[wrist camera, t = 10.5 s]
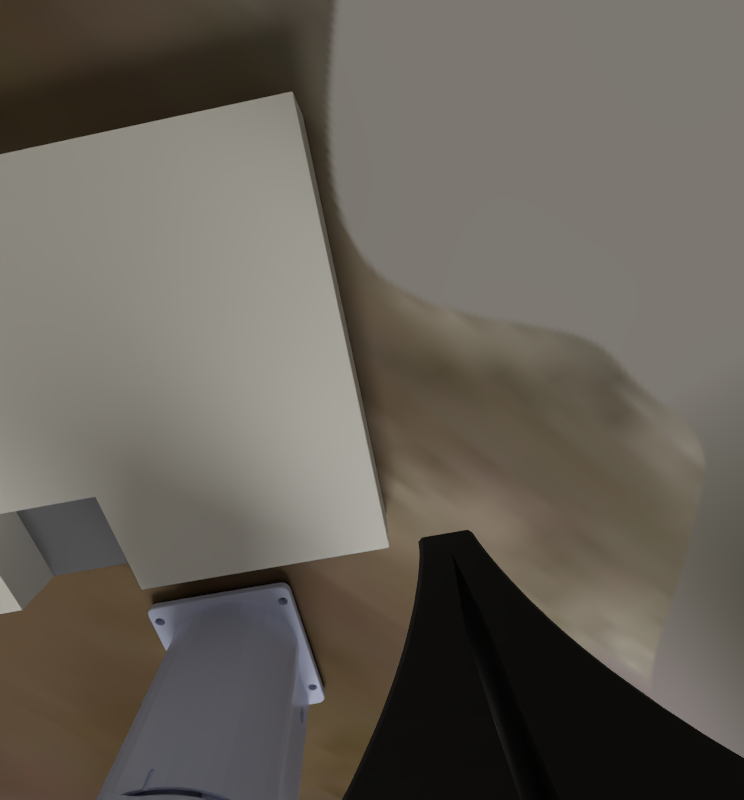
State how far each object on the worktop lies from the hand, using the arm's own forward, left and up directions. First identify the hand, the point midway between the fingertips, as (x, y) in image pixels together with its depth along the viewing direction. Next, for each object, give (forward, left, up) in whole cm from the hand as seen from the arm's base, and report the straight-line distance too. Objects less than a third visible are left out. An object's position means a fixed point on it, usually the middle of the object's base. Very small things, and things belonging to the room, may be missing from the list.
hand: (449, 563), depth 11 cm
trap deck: (+4, +17, -9) cm, 20 cm away
